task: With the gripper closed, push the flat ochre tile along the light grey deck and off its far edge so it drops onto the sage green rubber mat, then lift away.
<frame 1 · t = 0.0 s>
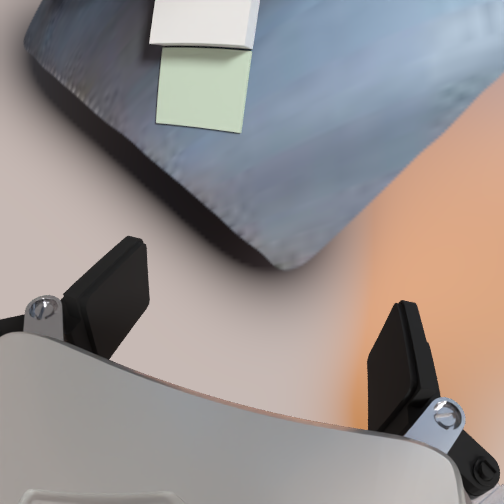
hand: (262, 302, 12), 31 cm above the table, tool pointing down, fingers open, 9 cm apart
mat: (201, 87, 37), on the table
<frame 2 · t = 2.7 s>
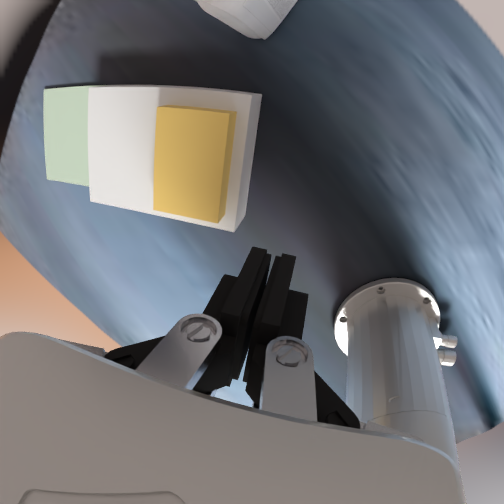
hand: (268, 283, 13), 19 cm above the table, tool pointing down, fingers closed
tile: (196, 159, 26), point 4 cm above the table, touching deck
deck: (174, 144, 30), on the table
mat: (74, 135, 32), on the table
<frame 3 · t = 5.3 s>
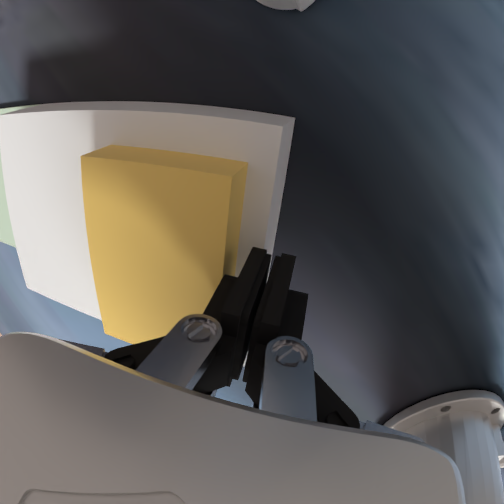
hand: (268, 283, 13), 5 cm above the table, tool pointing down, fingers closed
tile: (170, 252, 14), point 4 cm above the table, touching gripper
deck: (140, 204, 18), on the table
mat: (7, 180, 20), on the table
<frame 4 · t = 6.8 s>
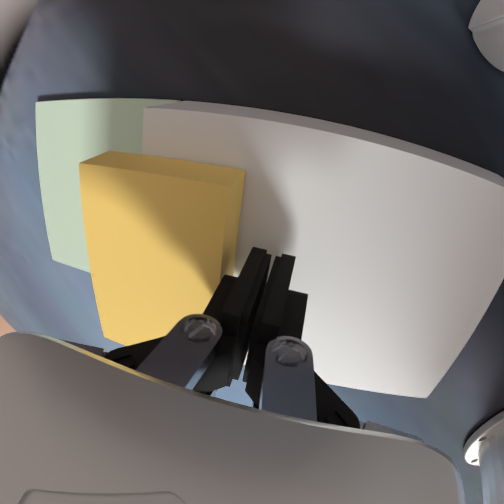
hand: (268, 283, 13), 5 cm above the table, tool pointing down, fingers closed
tile: (168, 257, 14), point 4 cm above the table, touching gripper
deck: (325, 241, 16), on the table
mat: (99, 194, 18), on the table
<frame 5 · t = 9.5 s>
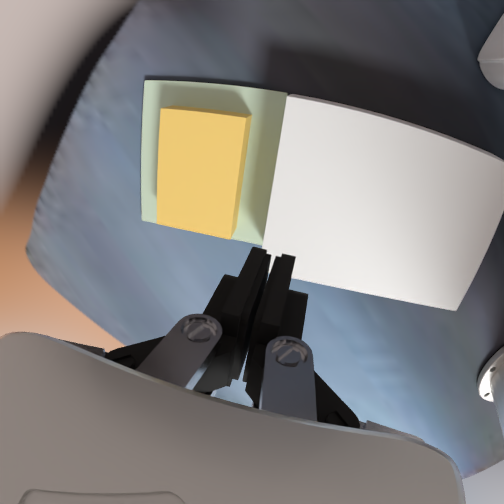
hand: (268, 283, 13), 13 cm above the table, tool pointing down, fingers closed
tile: (195, 175, 22), point 2 cm above the table, tilted 180°, touching mat
deck: (383, 197, 23), on the table
mat: (205, 160, 24), on the table
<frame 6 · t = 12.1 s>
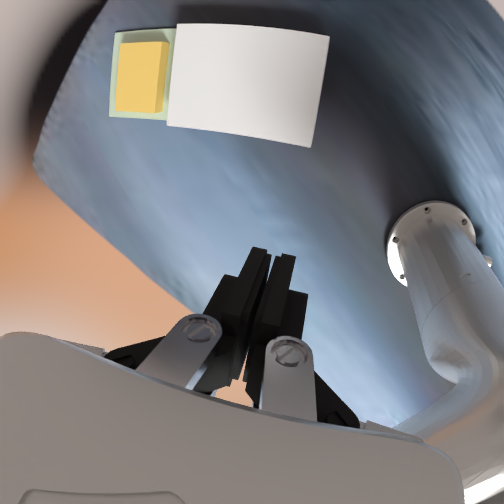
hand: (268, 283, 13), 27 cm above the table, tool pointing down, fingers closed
tile: (136, 76, 33), point 2 cm above the table, tilted 180°, touching mat
deck: (250, 79, 33), on the table
mat: (146, 73, 35), on the table
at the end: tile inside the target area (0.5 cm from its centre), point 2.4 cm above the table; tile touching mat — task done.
